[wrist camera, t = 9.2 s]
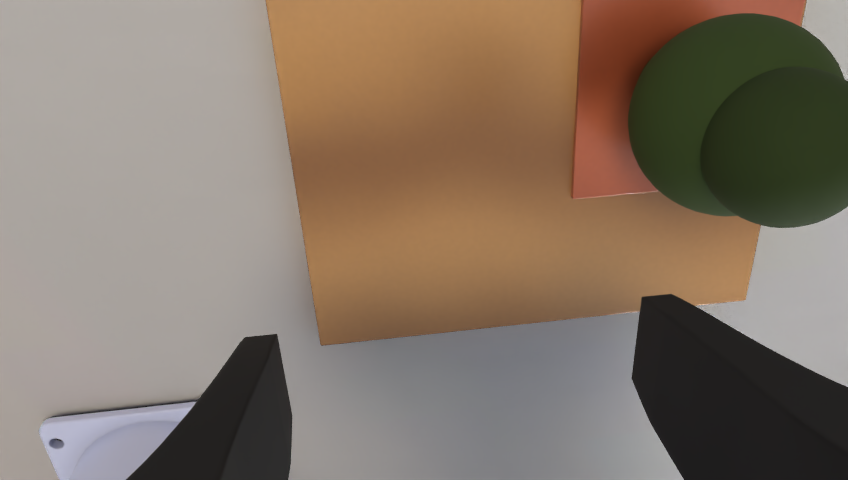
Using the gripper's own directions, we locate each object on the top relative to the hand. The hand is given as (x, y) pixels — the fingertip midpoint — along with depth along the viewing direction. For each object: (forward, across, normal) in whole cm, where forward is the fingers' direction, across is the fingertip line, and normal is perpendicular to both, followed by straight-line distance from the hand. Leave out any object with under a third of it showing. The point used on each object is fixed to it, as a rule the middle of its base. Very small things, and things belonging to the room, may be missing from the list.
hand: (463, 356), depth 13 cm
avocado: (+9, -8, -2) cm, 13 cm away
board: (+10, -4, 0) cm, 11 cm away
